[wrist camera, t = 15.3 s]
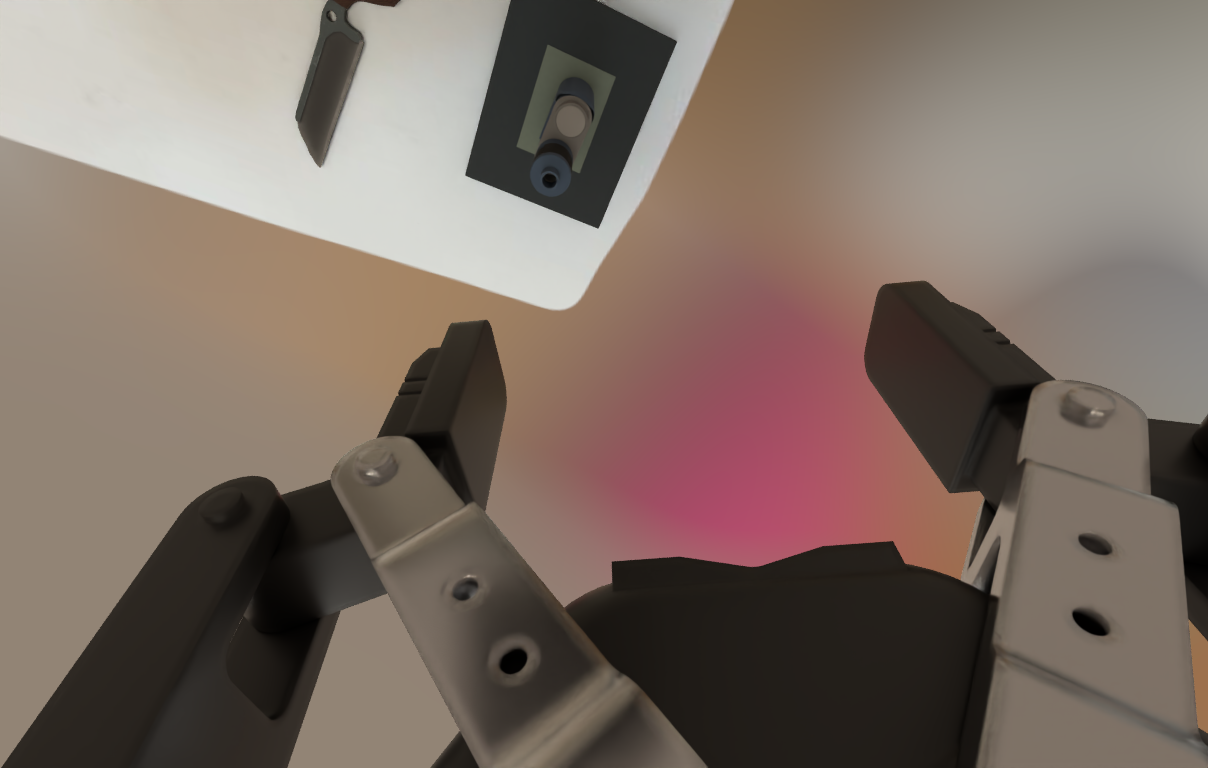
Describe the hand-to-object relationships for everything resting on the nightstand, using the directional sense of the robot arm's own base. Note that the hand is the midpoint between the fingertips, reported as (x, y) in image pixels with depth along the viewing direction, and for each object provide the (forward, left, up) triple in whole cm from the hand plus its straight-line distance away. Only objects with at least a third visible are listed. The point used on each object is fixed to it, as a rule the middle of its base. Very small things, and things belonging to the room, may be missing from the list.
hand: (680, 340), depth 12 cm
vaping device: (+1, -4, -34) cm, 34 cm away
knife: (-3, -19, -34) cm, 39 cm away
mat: (+1, -4, -34) cm, 34 cm away
